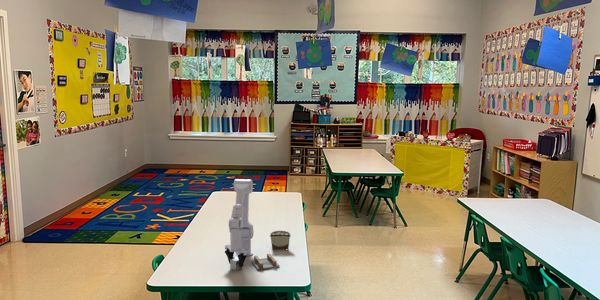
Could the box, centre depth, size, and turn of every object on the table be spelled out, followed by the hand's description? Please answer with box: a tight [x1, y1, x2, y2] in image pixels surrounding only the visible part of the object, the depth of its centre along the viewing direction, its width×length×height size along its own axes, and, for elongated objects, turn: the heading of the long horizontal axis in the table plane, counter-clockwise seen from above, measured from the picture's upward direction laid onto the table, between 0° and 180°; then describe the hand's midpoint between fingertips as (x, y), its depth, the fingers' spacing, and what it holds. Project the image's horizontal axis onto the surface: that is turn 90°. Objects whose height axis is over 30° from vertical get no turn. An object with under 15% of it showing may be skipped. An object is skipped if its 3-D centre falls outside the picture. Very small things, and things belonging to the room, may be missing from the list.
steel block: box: [229, 256, 243, 273], centre depth 232 cm, size 4×4×6 cm
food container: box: [269, 230, 292, 251], centre depth 262 cm, size 12×6×10 cm, turn 92°
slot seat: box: [250, 253, 280, 272], centre depth 239 cm, size 12×12×4 cm
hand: (236, 264), depth 232 cm, fingers open, 7 cm apart
